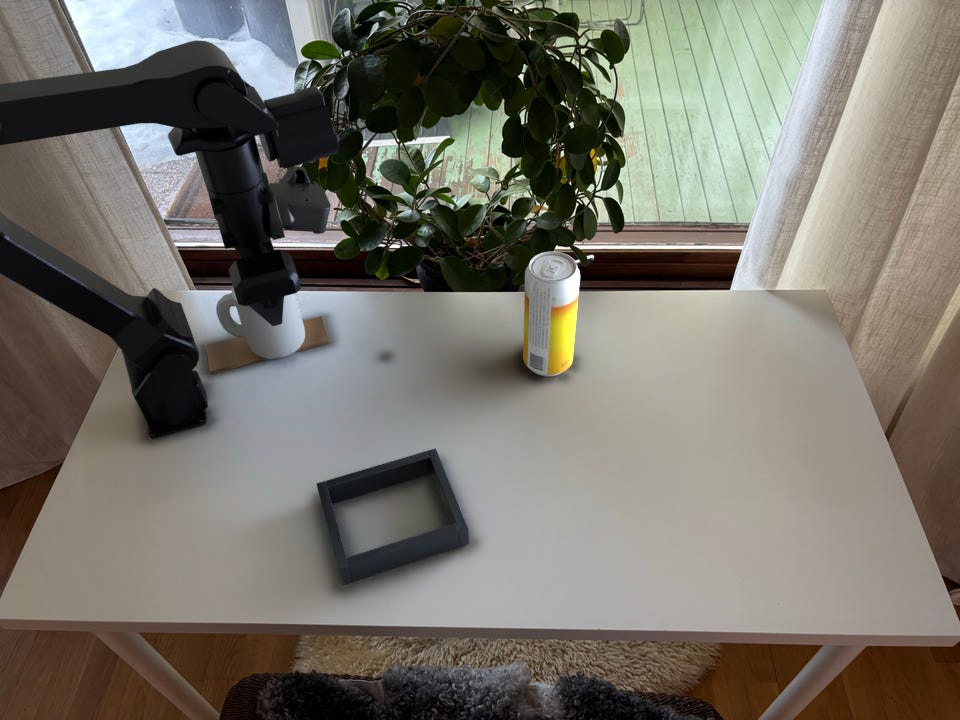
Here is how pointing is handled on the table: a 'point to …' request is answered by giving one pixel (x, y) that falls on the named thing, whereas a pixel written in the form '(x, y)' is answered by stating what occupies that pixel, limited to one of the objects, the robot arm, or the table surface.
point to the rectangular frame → (402, 549)
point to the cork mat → (240, 353)
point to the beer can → (550, 312)
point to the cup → (264, 327)
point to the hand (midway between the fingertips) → (269, 298)
